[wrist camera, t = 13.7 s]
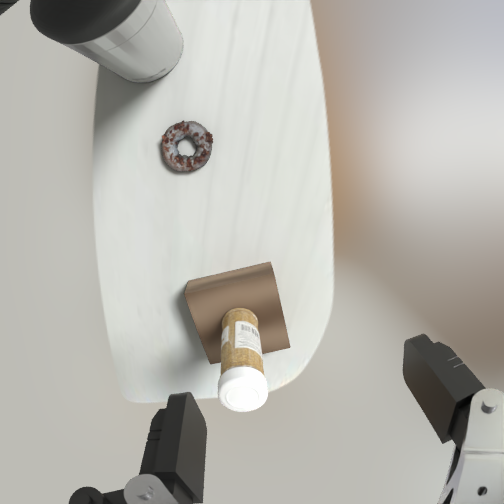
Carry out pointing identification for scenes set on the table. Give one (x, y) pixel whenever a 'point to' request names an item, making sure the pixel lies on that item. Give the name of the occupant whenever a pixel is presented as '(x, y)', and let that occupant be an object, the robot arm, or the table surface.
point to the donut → (200, 139)
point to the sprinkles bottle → (241, 363)
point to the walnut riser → (237, 306)
